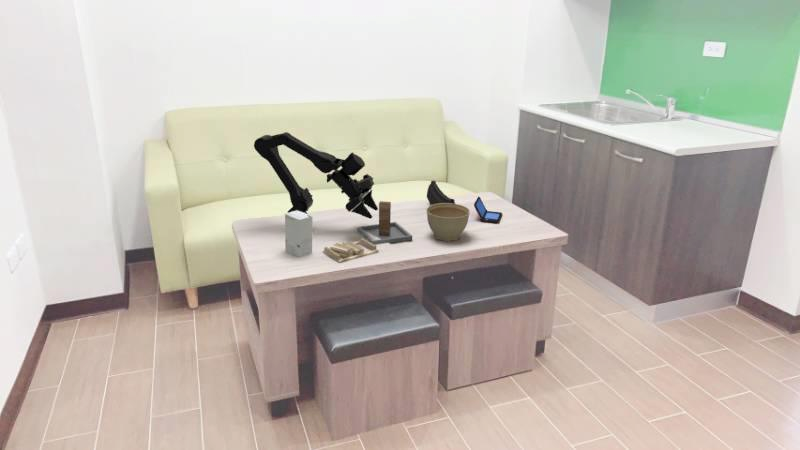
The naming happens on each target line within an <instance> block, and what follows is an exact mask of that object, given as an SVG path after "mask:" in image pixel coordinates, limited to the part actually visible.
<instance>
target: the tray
mask: <svg viewBox="0 0 800 450" xmlns="http://www.w3.org/2000/svg"><path fill="white" fill-rule="evenodd" d="M356 230H357V231H358V232H359V233H360V234H361V235H362V236H363V237H364V239H365V240H367V241H369V242H371V243H372V244H374V245H380V244H386V243H387V244H389V245H393V244H399V243H400V244H401V243H406V242H407V243H408V242H412V241H413V235H412V234H411V233H410V232H408V231H407V230H406V229H405V228H404V227H402V225H400V224H399V223H398V222H397V221H394V222H393V221H390V236H379V223H375V224H370V225H369V224H368V225H360V226H357V229H356ZM368 233H369V234H371V235H372V236H375V237H376V238H378V239H375V240H374V239H373V238H372V236H370V235H369V234H368Z"/></svg>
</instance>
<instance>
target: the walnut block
mask: <svg viewBox="0 0 800 450" xmlns="http://www.w3.org/2000/svg"><path fill="white" fill-rule="evenodd" d="M391 203H392V202H391V201H381V200H380V201H379V202H378V224H379V236H390V222H391V214H392V213H391V209H392V207H391Z"/></svg>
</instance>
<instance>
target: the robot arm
mask: <svg viewBox="0 0 800 450" xmlns="http://www.w3.org/2000/svg"><path fill="white" fill-rule="evenodd" d="M279 146H285V147H286V148H288V149H290V150H291V151H293V152H294V153H297V154H299V155H300V156H302V157H303V158H305V159H306V160H308V161H309V162H311V164H312V165H313V166H314V167H315V168H316V169H317V170H319V171H320V172H321V173H323V174H326V183H327V184H328V183H329V182H331V181H333V182H334V183H335V184H336V185H337V187H338V188H339V189H340V190H341V191H340V193H341V194H345V195H346V196H347V197H348V202H347V203H346V204H345V210H346V211H347V212H349V213H350V212H351V213H355V214H357V215H360V216H362V217H365V218H367V219H372V218H373V215H372V213H371V212H370V210H369V209H368V208H367V207H366V206H368V207H369V208H370V209H372V210H374V211H379V207H378V206H377V204H376V201H375V200H374V198H373V195H372V194H373V186H374V185H375V182H374V177H372V176H371V175H370V174H368V173H366V174H364V175H363V176H362V178H361V179H360V180H357V178H352V177H351V176H355V175H356V174H357V173H359V172H360V171H361V170H362V169H363V168H364V167H366V163H365V161H364V160H363V158H362V157H360V156H359V155H357V154H355V152H350V154H348V156H347V157H346V158H345V159H343V158H337V157H336V156H335V155H332V154H331V153H328V152H326V151H321V150H318V149H315V148H314V147H312V146H310V145H309V144H307V143H305V142H303V141H302V140H301V139H298V138H297V137H296V136H293V135H292V134H291V133H289V132H287V131H286V132H282V133H278V134H273V135H270V134H264V135H262V136H260V137H258V138H256V139H255V140H254V143H253V147H254V150H255V151H256V153H258V155H259V156H260V157H261V158H262V159H264V160H265V161H267V162H268V163H269V165H270V166H271V167H272V169H273V170H274V172H275V174H276V175H277V177H278V178H279V180H280V181H281V183H282V185H283V186H284V187H285V190H286V191H287V192H288V194H289V200H290V203H291V205H292V207H291V208H289V210H288V211H287V213H289V212H293V211H296V210H298V211H300V212H304V213H306V214H308V211H309V209H310V208H311V207H312V206H313V205H314V204H313V203H314V199H313V194H311V192H310V190H309V189H308V188H307V187H306V188H303V187H301V186H300V185H299V184H298V181H297V180H296V179H295V177H294V175H293V174H292V172H291V170H289V168H288V166H287V165H286V163H285V162H284V160H283V157H281V155H280V152H279ZM339 168H340V169H339ZM365 205H366V206H365Z"/></svg>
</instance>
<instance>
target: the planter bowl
mask: <svg viewBox="0 0 800 450" xmlns="http://www.w3.org/2000/svg"><path fill="white" fill-rule="evenodd" d="M470 212H471V211H470V209H469V208H468V207H467V206H464V205H462V204H457V203H455V204H452V203H439V204H434V205H431V204H430V205H428V206H427V208H426V217H427V223H428V226H429V228H430V230H431V231H432V233H433V235H434V238H436V240H437V239H438V240H439V241H444V242H451V241H452V242H453V241H457V240H459V238H460V235H462V233H463V232H464V230H465V229H466V227H467V225H468V222H469V219H470V217H469V216H470Z"/></svg>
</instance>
